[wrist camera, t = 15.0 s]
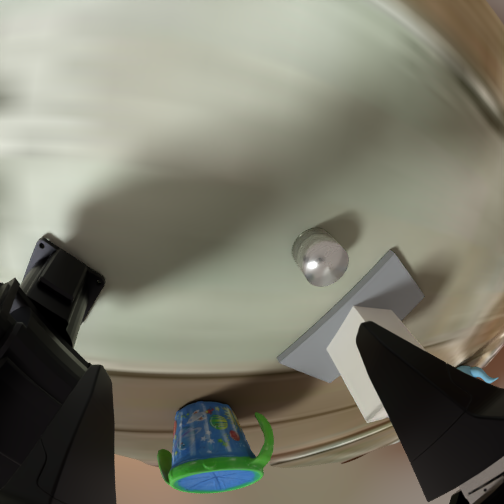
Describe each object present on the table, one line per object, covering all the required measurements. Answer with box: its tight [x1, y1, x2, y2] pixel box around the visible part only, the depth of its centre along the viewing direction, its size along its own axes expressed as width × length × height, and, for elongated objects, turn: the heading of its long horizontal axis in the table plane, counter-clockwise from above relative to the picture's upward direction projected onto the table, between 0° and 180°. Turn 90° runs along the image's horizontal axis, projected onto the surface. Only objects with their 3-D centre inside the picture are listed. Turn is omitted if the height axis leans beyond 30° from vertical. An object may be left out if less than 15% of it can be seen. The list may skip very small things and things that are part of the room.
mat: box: [277, 250, 425, 383], centre depth 30 cm, size 16×10×1 cm, turn 137°
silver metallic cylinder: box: [292, 228, 349, 287], centre depth 22 cm, size 4×4×3 cm
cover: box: [327, 306, 426, 423], centre depth 25 cm, size 6×6×10 cm
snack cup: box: [157, 401, 274, 493], centre depth 28 cm, size 16×10×10 cm
